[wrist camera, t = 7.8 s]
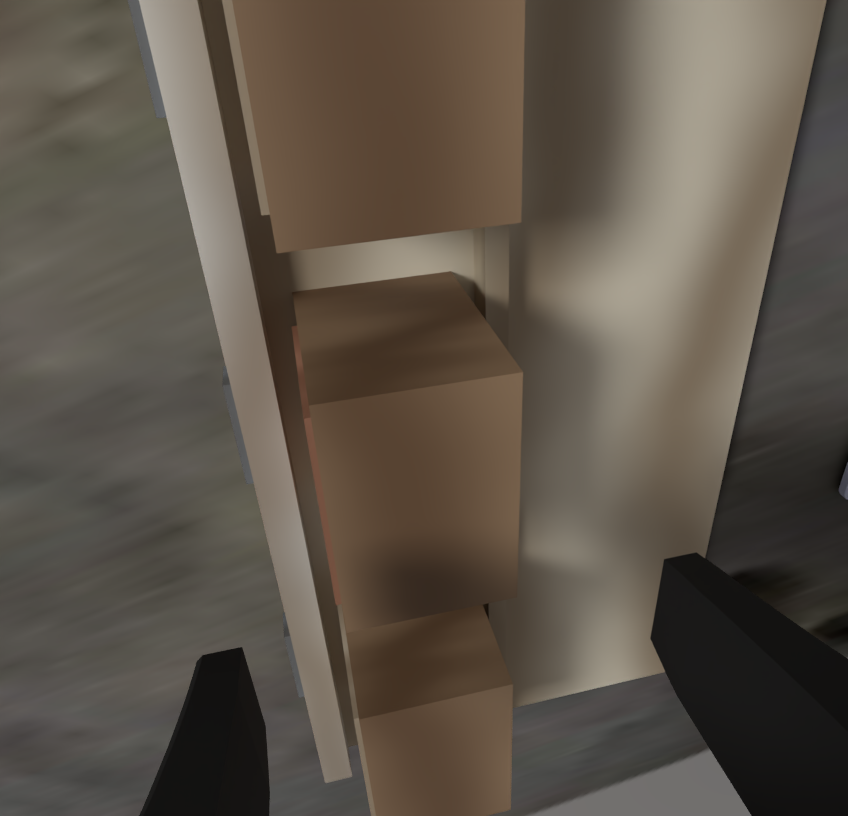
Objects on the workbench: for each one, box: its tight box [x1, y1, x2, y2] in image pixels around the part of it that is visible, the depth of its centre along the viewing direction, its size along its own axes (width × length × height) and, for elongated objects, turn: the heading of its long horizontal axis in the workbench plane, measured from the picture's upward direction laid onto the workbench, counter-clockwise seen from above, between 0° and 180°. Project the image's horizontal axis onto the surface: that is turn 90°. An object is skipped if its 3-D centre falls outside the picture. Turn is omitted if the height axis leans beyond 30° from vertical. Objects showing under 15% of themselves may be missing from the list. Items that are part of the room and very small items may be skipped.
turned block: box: [292, 271, 523, 633], centre depth 16 cm, size 4×6×6 cm
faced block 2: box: [337, 604, 513, 816], centre depth 21 cm, size 4×6×6 cm
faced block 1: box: [222, 0, 525, 253], centre depth 12 cm, size 4×6×6 cm
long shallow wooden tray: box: [128, 0, 827, 783], centre depth 20 cm, size 15×28×2 cm, turn 4°
